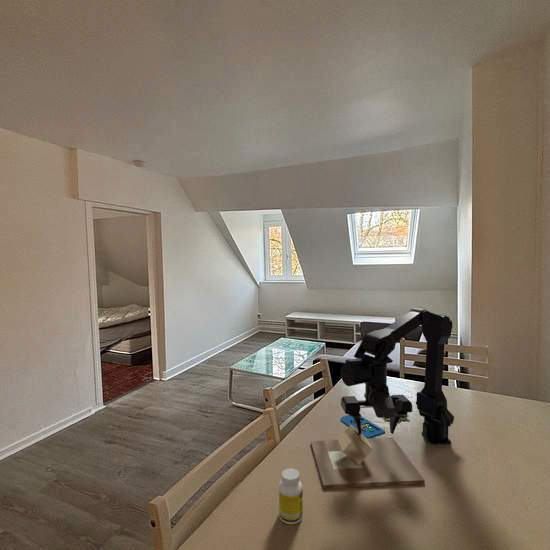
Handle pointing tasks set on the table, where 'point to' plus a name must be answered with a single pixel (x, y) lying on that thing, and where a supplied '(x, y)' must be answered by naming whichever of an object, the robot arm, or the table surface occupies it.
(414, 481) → the walnut board
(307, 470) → the table surface
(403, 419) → the lily flower
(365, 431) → the handheld gaming device
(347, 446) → the beech block
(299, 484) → the supplement bottle
